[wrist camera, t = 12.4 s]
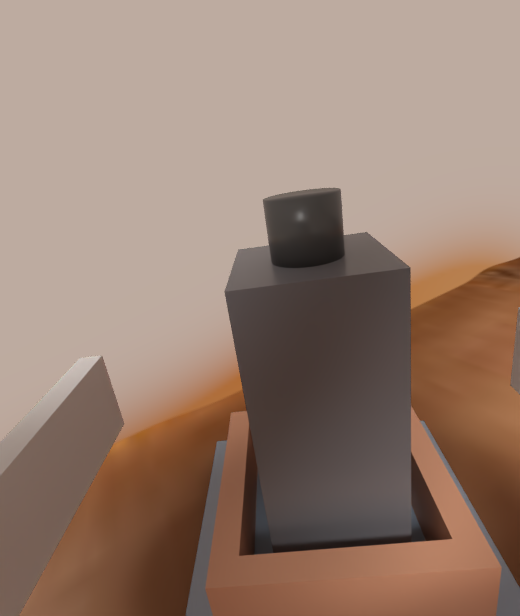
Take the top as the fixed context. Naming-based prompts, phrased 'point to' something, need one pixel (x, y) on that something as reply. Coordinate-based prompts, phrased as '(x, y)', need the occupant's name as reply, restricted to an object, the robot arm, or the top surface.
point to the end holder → (347, 550)
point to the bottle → (325, 376)
